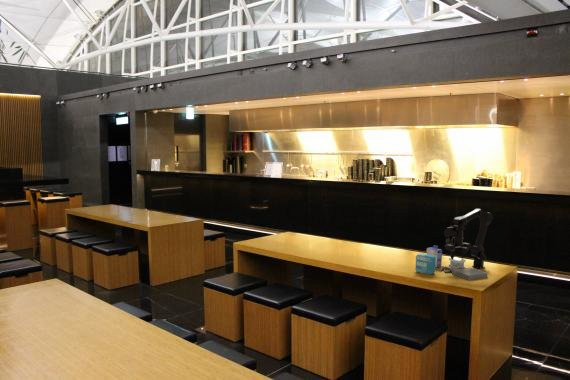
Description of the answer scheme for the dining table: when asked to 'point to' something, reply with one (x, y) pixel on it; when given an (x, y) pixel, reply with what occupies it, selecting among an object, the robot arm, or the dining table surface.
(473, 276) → the stand
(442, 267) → the bolt
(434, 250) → the ink cartridge box
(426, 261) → the data package
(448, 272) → the bolt
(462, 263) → the block
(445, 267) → the stand
